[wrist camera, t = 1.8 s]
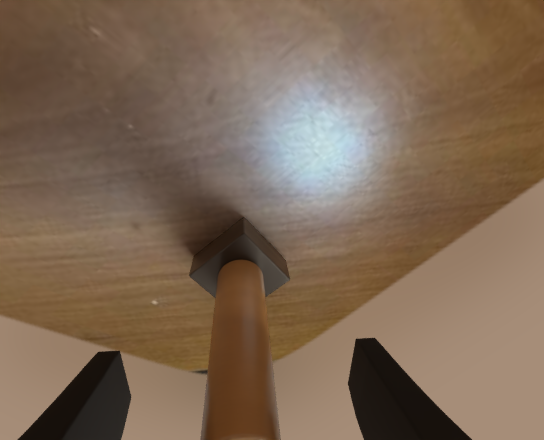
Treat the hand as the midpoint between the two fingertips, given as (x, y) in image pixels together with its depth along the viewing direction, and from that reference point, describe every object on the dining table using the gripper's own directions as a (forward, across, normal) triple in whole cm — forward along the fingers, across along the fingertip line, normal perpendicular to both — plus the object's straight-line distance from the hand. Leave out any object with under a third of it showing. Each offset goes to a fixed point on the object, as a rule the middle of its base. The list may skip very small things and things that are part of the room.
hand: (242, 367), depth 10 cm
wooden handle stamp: (+6, 0, 0) cm, 6 cm away
